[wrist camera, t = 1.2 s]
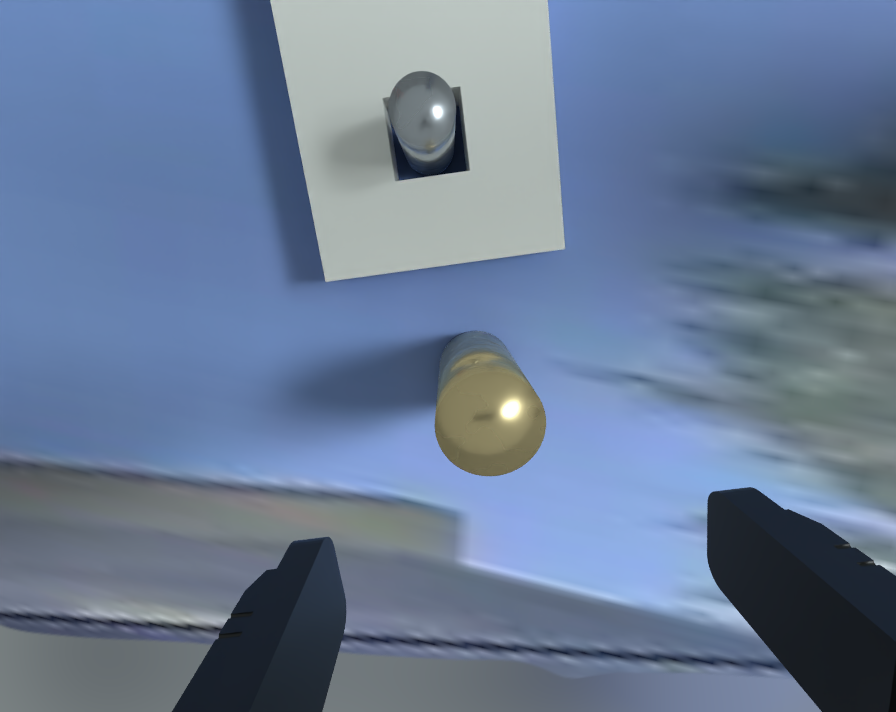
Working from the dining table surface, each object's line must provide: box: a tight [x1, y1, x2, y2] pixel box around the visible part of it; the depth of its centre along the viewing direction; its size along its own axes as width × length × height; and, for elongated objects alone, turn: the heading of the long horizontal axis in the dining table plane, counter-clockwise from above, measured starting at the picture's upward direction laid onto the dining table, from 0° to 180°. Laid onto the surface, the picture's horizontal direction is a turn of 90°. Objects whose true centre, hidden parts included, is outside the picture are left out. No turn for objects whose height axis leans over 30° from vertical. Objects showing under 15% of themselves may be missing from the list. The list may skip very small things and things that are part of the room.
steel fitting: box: [389, 71, 456, 175], centre depth 19 cm, size 3×3×6 cm
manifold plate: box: [270, 0, 565, 282], centre depth 19 cm, size 12×24×2 cm, turn 8°
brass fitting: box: [435, 331, 546, 476], centre depth 20 cm, size 4×4×9 cm
